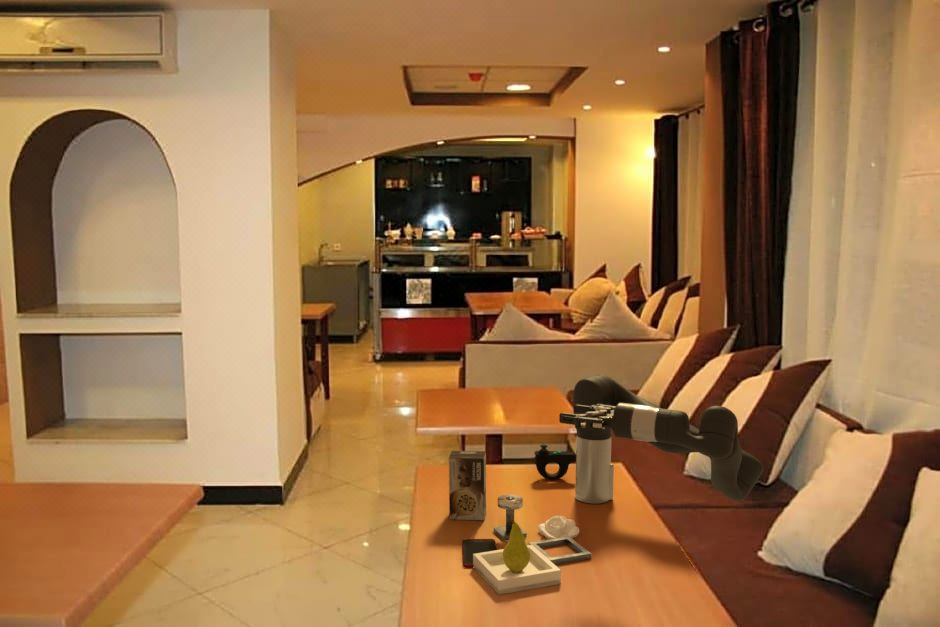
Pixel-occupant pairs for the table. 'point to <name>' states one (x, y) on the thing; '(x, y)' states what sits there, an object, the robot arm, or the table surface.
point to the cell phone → (475, 549)
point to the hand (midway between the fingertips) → (567, 413)
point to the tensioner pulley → (508, 514)
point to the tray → (507, 581)
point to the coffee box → (467, 485)
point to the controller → (553, 456)
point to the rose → (558, 528)
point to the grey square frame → (566, 558)
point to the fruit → (516, 550)
